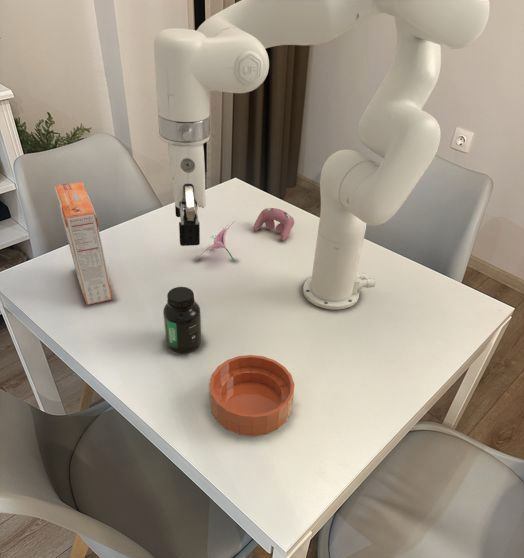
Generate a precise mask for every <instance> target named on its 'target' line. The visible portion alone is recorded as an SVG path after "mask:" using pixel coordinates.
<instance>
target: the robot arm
mask: <svg viewBox="0 0 524 558" xmlns="http://www.w3.org/2000/svg"><path fill="white" fill-rule="evenodd" d="M490 5H491V4H490V0H239V1H237V2H235V3H233V4H231V5H229V6H227V7H226V8H224V9H221V11H218V12H217V13H215V14H213V15H211V16H210V17H208V18H207V19H205V20H204V21H203V22H202V23H201V24H200V25H199V26H198V28H197V29H196V30H195V29H190V28H180V27H175V28H174V27H172V28H171V27H170V28H165V29H162V30H160V31H158V32H157V33H156V34H155V36H154V38H153V39H154V41H153V55H154V72H155V73H154V74H155V89H156V104H157V105H156V107H157V118H158V119H157V120H158V121H157V123H158V136H159V139H160V140H161V141H163V142H164V143H166V144H167V152H168V153H167V155H168V167H169V176H170V177H169V178H170V186H171V190H172V196H173V200H174V209H175V211H174V212H175V217H176V218H180V221H179V222H178V230H179V231H178V232H179V234H178V235H179V245H180V246H181V247H188V246H189V247H190V246H191V247H192V246H199V245H200V243H201V237H200V235H201V233H200V232H201V229H200V227H201V225H200V221H199V210H198V208H201V209H204V208H205V207H207V202H206V201H207V197H206V164H205V149H204V144H206V143H208V142H209V140H210V133H211V131H210V130H211V129H210V128H211V127H210V122H211V121H210V118H211V117H210V115H211V114H210V113H211V108H210V107H211V106H210V105H211V101H210V100H211V99H210V98H211V96H210V95H211V92H212V91H213V92H223V93H229V94H230V93H231V94H246V93H250V92H252V91H254V90H256V89H258V88H259V87H260V86H261V85H262V84H264V82H265V80H266V78H267V76H268V74H269V69H270V59H269V55H268V52H267V50H266V49H269V48H273V47H277V46H278V47H279V46H314V45H315V46H316V45H322V44H323V45H324V44H326V43H327V44H328V43H329V42H331V41H332V40H334V39H336V38H338V37H340V36H341V35H343V34H345V33H347V32H348V31H350V30H352V29H354V28H356V27H357V26H359V25H361V24H363V23H364V22H366V21H368V20H370V19H372V18H373V17H376V16H378V15H380V14H386V15H389V16H391V17H394V22H395V29H396V50H395V54H394V57H393V61H392V63H391V65H390V67H389V69H388V71H387V72H386V74H385V76H384V78H383V80H382V81H381V83H380V84H379V86H378V88H377V90H376V91H375V93H374V94H373V96H372V98H371V100H370V102H369V103H368V104H367V106H366V108H365V109H364V112H363V114H362V115H361V117H360V119H359V122H358V124H357V130H356V134H357V137H358V139H359V141H360V142H361V144H362V145H363V146H364V147H366V148H367V149H369V150H370V151H371V152H373V153H374V154H376V155H378V156H380V157H381V158H383V159H382V161H381V163H380V164H378V163H377V162H375V161H374V160H372V159H371V158H369V157H368V156H366V155H364V154H363V153H361V152H359V151H356V150H353V149H346V148H345V149H340V150H337V151H335V152H333V153H332V154H331V155H330V156H328V158H327V159H326V160H325V162H324V164H323V166H322V169H321V172H320V176H319V191H320V192H319V193H320V211H319V213H320V214H319V222H318V229H317V236H316V244H315V250H314V257H313V265H312V271H311V276H310V277H308V278H307V279H306V280H305V281H304V282H303V285H302V286H303V287H302V293H303V296H304V297H305V299H306V300H307V301H308V302H310V303H311V304H312V305H314V306H316V307H319V308H321V309H326V310H331V311H332V310H333V311H336V310H337V311H339V310H344V309H347V308H350V307H352V306H354V305H355V304H357V302H358V300H359V297H360V293H361V291H360V290H362V289H363V288H368V289H369V288H375V287H376V279H375V278H374V277H373V278H367V275H366V273H359V274H358V268H359V263H360V260H361V259H360V258H361V255H362V254H361V253H362V249H363V245H364V240H365V236H366V230H367V225H369V226H380V225H382V224H385V223H386V222H388V221H389V220H391V219H392V218H393V217H394V216H395V215H396V214H397V212H398V211H399V210H400V209H401V208H402V206H403V204H404V203H405V202H406V200H407V198H408V197H409V196H410V194H411V193H412V191H413V190H414V188H415V187H416V185H418V183H419V181H420V179H421V178H422V176H424V174H425V172H426V170H428V168H429V166H430V164H432V161H433V160H434V159H435V156H436V154H437V151H438V150H439V146H440V142H441V127H440V124H439V122H438V121H437V119H436V118H435V117H434V116H433V115H431V114H430V113H429V112H427V111H424V110H422V109H423V108H424V106H425V105H426V103H427V101H428V99H429V97H430V96H431V94H432V92H433V91H434V89H435V87H436V85H437V83H438V80H439V77H440V73H441V68H442V67H441V66H442V48H441V47H444V48H447V49H451V50H460V49H464V48H466V47H468V46H470V45H472V44H473V43H474V42H475V41H477V40H478V39H479V37H481V35H482V34H483V32H484V30H485V28H486V26H487V24H488V21H489V18H490V11H491V10H490V9H491V8H490Z"/></svg>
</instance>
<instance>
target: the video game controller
mask: <svg viewBox="0 0 524 558" xmlns="http://www.w3.org/2000/svg"><path fill="white" fill-rule="evenodd" d="M275 222H278V223H277V225H276V223H275ZM264 225H265V228H266V230H273V229H275V231H276V233H278V234H281V235H280V240H281V241H282V242H284V241H286V240H287V238H288V237H289V236H290V234H291V231H292V229H293V228H294V225H295V219H294V217H293V216H292V215H290V214H289V213H288V212H286V211H285V210H282V209H281V208H276V207H265V208H264V209H263V210H261V211H260V213H259V215H258V216H257V218H256V220H255V222H254V224H253V230H254V231H255V232H257V231H258V230H260V229H261V227H263V226H264Z"/></svg>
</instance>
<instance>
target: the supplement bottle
mask: <svg viewBox="0 0 524 558" xmlns="http://www.w3.org/2000/svg"><path fill="white" fill-rule="evenodd" d="M166 295H167V296H166V297H167V300H166V301H167V303H166V304H165V305H164V306H163V310H162V314H163V323H164V334H165V342H166V346H167V348H168V349H169V350H170V351H171V352H172V353H175V354H178V355H179V354H180V355H187V354H191V353H194V352H196V351H197V350H198V349H199V348H200V347H201V344H202V319H201V318H202V316H201V308H200V305H199V303H198V302H197V301H195V300H196V299H195V293H194V291H193V290H192V289H191V288H190V287H186V286H176V287H173V288H171V289H169V291H168V292H167V294H166Z"/></svg>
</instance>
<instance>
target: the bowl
mask: <svg viewBox="0 0 524 558" xmlns="http://www.w3.org/2000/svg"><path fill="white" fill-rule="evenodd" d="M208 386H209V387H208V388H209V389H208V390H209V406H210V412H211V414H212V417H213V418H214V420H215V421H216V422H217V423H218V424H219V425H220V426H221V427H223V428H224V429H225V430H227V431H229V432H232V433H234V434H237V435H238V436H239V435H240V436H241V435H242V436H249V437H257V436H263V435H268V434H270V433H272V432H276V431H277V430H279V429H280V428H281V427H282V426H283V425H284V424H286V423H287V421H288V419H289V417H290V416H291V414H292V410H293V402H294V401H293V400H294V393H295V382H294V379H293V376H292V374H291V373H290V371H289V370H288V369H287V368H286V367H285V366H284V365H283V364H281V363H279V362H278V361H277V360H275V359H273V358H270V357H267V356H264V355H255V354H247V355H238V356H235V357H231V358H229V359H227V360H225V361H223V362H222V363H221V364H220V365H218V366H217V367H216V368H215V370H214V371H213V372H212V374H211V376H210V379H209V383H208Z"/></svg>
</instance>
